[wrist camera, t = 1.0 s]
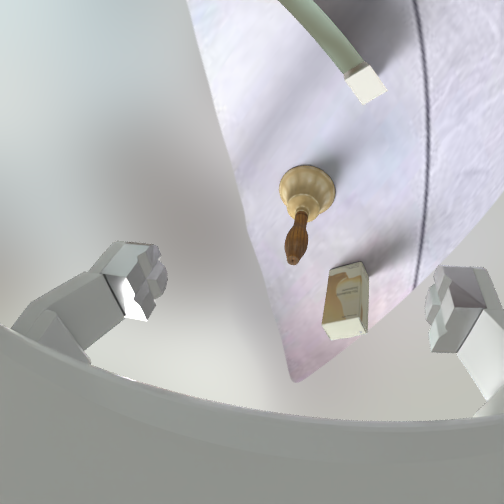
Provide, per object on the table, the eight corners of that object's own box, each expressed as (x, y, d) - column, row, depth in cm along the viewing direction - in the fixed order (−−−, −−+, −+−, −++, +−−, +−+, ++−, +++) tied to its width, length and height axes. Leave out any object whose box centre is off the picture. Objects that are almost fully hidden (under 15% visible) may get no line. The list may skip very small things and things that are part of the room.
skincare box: (361, 260, 50) (361, 316, 41) (369, 277, 52) (369, 334, 43) (327, 270, 53) (319, 325, 44) (336, 286, 55) (330, 341, 46)
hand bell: (306, 153, 41) (288, 214, 29) (346, 193, 43) (345, 266, 32) (268, 189, 46) (237, 256, 35) (307, 224, 49) (291, 299, 37)
